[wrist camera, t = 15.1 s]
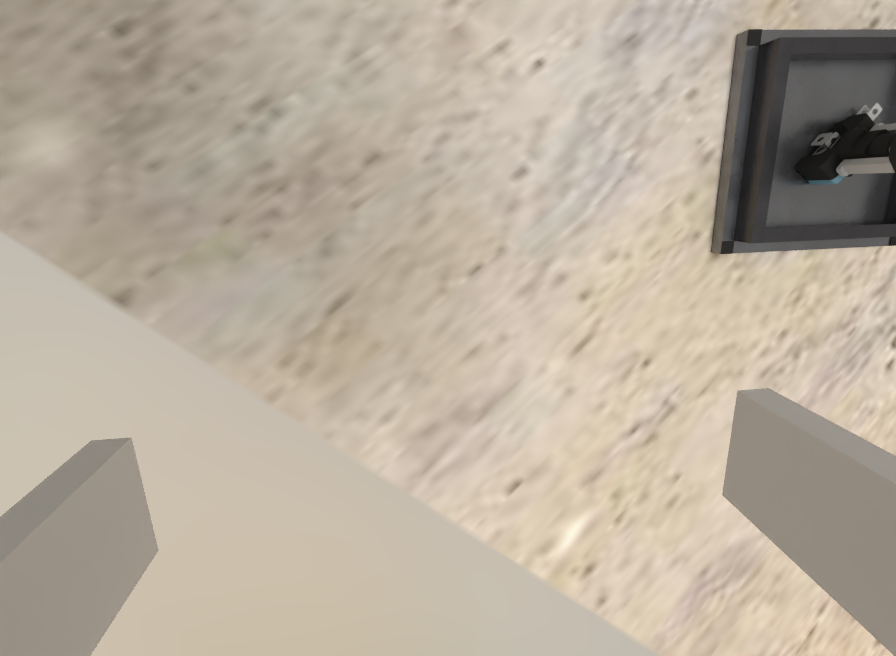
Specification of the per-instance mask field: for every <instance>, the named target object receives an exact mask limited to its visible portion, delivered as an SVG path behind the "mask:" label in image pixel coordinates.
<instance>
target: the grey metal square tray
mask: <svg viewBox="0 0 896 656" xmlns="http://www.w3.org/2000/svg"><path fill="white" fill-rule="evenodd" d="M875 103H878V104H879V105H880V106H881V108H882V111H881V112H880V114H879V115H878V116H877V117H876V118H875V119H874V120H873V122H874V123H875V124H880V123H883V124H884V125H885V124H893V123H896V30H762V29H757V30H747V31H745V32H743V33H740V34H738V35H737V39H736V48H735V56H734V64H733V73H732V81H731V89H730V98H729V106H728V115H727V123H726V131H725V140H724V148H723V156H722V165H721V173H720V181H719V190H718V198H717V207H716V215H715V223H714V232H713V240H712V248H711V252H714V253H719V254H730V253H746V252H767V251H787V250H808V249H828V248H849V247H869V246H894V245H896V174H895V173H869V174H853V175H852V176H851V177H844V178H843V179H842V180H841V181H840V182H839V183H837V184H827V185H811V184H810V183H809V182H808V181H807V180H806V179H805V178H804V177H803V175H802V174H801V173H800V172H799V171H798V170H797V169H796V168H795V165H796V164H797V163H798V161H799V160H800V159H802V158H804V157H808V156H809V155H810V154H811V153H812V152H813V151H814V149H815V148H816V147H817V146H811V143H812V142H813V141H814V140H815V139H816V138H817V136H819V135H820V134H823V133H829V132H830V131H831V130H832V129H833V128H834V127H835V125H836V124H837V123H839V122H840V121H842V120H845V119H846V118H847V117H849V116H851V115H856V114H857V113H858V112H859V110H860V109H861V108H862V107H863V106H864V105H867V107H868V108H869V109H871V108H872V107H873V105H874V104H875ZM876 112H877V110H876V109H874V110H873V112H872V113H873V114H874V115H875V114H876ZM863 113H865V111H862V113H861V114H863ZM823 138H824V137H822V138H820V139H819V140H818V141H817V142H819V141H821V140H822V139H823Z"/></svg>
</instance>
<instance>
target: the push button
mask: <svg viewBox="0 0 896 656" xmlns="http://www.w3.org/2000/svg"><path fill="white" fill-rule="evenodd" d="M874 109H876V110H877V112H876V114H875V115H874V114H873V113H872V112H873V110H874ZM862 111H865V113H863V114H861V113H862ZM881 111H882V108H881V106H880V105H879V104H878V103H875V104H874V105H873V107H872V108H871V109H869V108H868V107H867V105H864V106H863V107H862V108H861V109H860V110H859V112H858V113H857V114H856V115H851V116H849V117H847V118H846V119H845V120H842V121H840V122H839V123H837V124H836V125H835V127H834V128H833V129H832V130H831V131H830V132H829V133H823V134H820V135H819V136H817V138H816V139H815V140H814V141H813V142H812V143H811V146H817V147H816V148H815V149H814V151H813V152H812V153H811V154H810V155H809V156H808V157H804V158H802V159H800V160H799V161H798V163H797V164H796V165H795V168H796V169H797V170H798V171H799V172H800V173H801V174H802V175H803V177H804V178H805V179H806V180H807V181H808V182H809V183H810V184H811V185H827V184H837V183H839V182H840V181H841V180H842V179H843V178H844V177H851V176H852V175H853V174H869V173H895V174H896V123H893V124H885V125H884V124H883V123H880V124H875V123H874V122H873V120H874V119H875V118H876V117H877V116H878V115H879V114H880V112H881ZM822 137H824V138H823V139H822V140H821V141H819V142H817V141H818V140H819V139H820V138H822Z"/></svg>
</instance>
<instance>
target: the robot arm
mask: <svg viewBox="0 0 896 656" xmlns="http://www.w3.org/2000/svg"><path fill="white" fill-rule="evenodd" d="M722 495H723V496H724V497H725V498H726V499H727V500H728V501H729V502H730V503H731V504H733V505H734V506H735V507H736V508H737V509H738V510H739V511H740V512H741V513H742V514H743V515H744V516H745V517H746V518H747V519H749V520H750V521H751V522H752V523H753V524H754V525H755V526H756V527H757V528H758V529H759V530H760V531H761V532H762V533H764V534H765V535H766V536H767V537H768V538H769V539H770V540H771V541H772V542H773V543H774V544H775V545H776V546H777V547H779V548H780V549H781V550H782V551H783V552H784V553H785V554H786V555H787V556H788V557H789V558H790V559H791V560H792V561H794V562H795V563H796V564H797V565H798V566H799V567H800V568H801V569H802V570H803V571H804V572H805V573H806V574H807V575H809V576H810V577H811V578H812V579H813V580H814V581H815V582H816V583H817V584H818V585H819V586H820V587H821V588H822V589H824V590H825V591H826V592H827V593H828V594H829V595H830V596H831V597H832V598H833V599H834V600H835V601H836V602H837V603H839V604H840V605H841V606H842V607H843V608H844V609H845V610H846V611H847V612H848V613H849V614H850V615H851V616H852V617H854V618H855V619H856V620H857V621H858V622H859V623H860V624H861V625H862V626H863V627H864V628H865V629H866V630H867V631H868V632H870V633H871V634H872V635H873V636H874V637H875V638H876V639H877V640H878V641H879V642H880V643H881V644H882V645H883V646H885V647H886V648H887V649H888V650H889V651H890V652H891V653H892V654H893V655H894V656H896V456H894V455H893V454H891V453H889V452H887V451H885V450H883V449H881V448H879V447H878V446H876V445H874V444H872V443H870V442H868V441H866V440H864V439H863V438H861V437H859V436H857V435H855V434H853V433H851V432H850V431H848V430H846V429H844V428H842V427H840V426H838V425H836V424H835V423H833V422H831V421H829V420H827V419H825V418H823V417H821V416H820V415H818V414H816V413H814V412H812V411H810V410H808V409H806V408H805V407H803V406H801V405H799V404H797V403H795V402H793V401H791V400H790V399H788V398H786V397H784V396H782V395H780V394H778V393H777V392H775V391H773V390H771V389H769V388H767V389H754V390H741V391H737V398H736V405H735V411H734V418H733V425H732V432H731V439H730V446H729V452H728V459H727V466H726V473H725V480H724V487H723V494H722ZM157 552H158V547H157V543H156V538H155V535H154V530H153V526H152V522H151V518H150V513H149V509H148V505H147V501H146V497H145V492H144V488H143V484H142V480H141V476H140V471H139V467H138V463H137V459H136V455H135V451H134V446H133V442H132V438H120V439H106V440H94V441H90V442H89V443H88V444H87V445H86V446H84V447H83V448H82V449H81V450H80V451H79V452H77V453H76V454H75V455H74V456H72V457H71V458H70V459H69V460H68V461H66V462H65V463H64V464H63V465H62V466H61V467H59V468H58V469H57V470H56V471H55V472H53V473H52V474H51V475H50V476H49V477H47V478H46V479H45V480H44V481H43V482H41V483H40V484H39V485H38V486H37V487H35V488H34V489H33V490H32V491H31V492H29V493H28V494H27V495H26V496H25V497H23V498H22V499H21V500H20V501H19V502H18V503H16V504H15V505H14V506H13V507H11V508H10V509H9V510H8V511H7V512H6V513H4V514H3V515H2V516H1V517H0V656H90V655H91V654H92V652H93V651H94V649H95V647H96V646H97V644H98V643H99V641H100V640H101V638H102V636H103V635H104V634H105V632H106V630H107V629H108V627H109V626H110V624H111V623H112V621H113V620H114V618H115V617H116V615H117V613H118V612H119V610H120V609H121V607H122V606H123V604H124V603H125V601H126V600H127V598H128V597H129V595H130V593H131V592H132V590H133V589H134V587H135V586H136V584H137V583H138V581H139V580H140V578H141V576H142V575H143V573H144V572H145V570H146V569H147V567H148V565H149V564H150V563H151V561H152V559H153V558H154V556H155V555H156V553H157Z"/></svg>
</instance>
